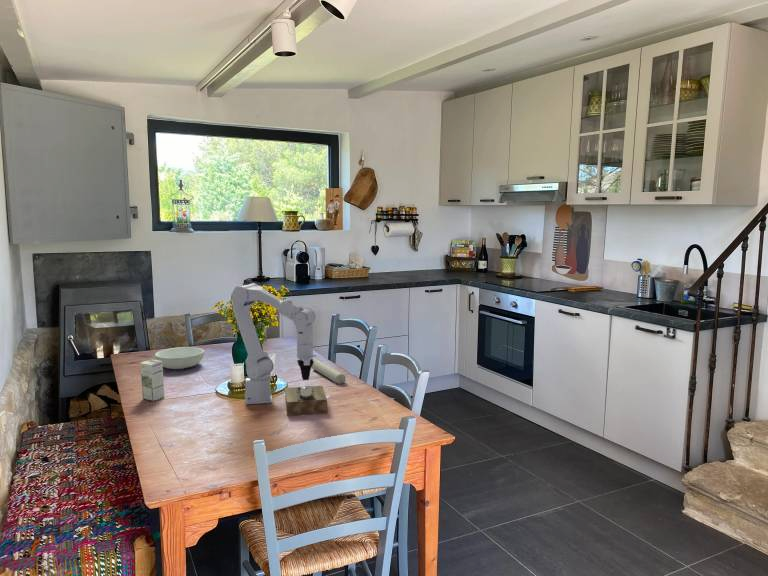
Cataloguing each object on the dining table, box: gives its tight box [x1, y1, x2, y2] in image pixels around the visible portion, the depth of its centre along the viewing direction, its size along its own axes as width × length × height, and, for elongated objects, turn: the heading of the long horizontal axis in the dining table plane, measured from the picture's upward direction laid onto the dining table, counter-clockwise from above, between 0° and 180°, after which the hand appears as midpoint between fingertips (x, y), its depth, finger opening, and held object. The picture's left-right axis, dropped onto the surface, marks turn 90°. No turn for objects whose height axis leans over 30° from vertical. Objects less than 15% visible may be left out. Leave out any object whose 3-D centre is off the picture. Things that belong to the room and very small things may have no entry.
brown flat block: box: [284, 385, 328, 417], centre depth 211 cm, size 14×16×5 cm
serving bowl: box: [154, 346, 205, 370], centre depth 262 cm, size 21×21×7 cm
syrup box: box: [139, 358, 165, 402], centre depth 219 cm, size 6×6×14 cm
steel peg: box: [300, 385, 312, 399], centre depth 207 cm, size 4×4×5 cm
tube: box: [311, 358, 346, 385], centre depth 248 cm, size 5×5×25 cm
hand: (305, 379), depth 210 cm, fingers closed
